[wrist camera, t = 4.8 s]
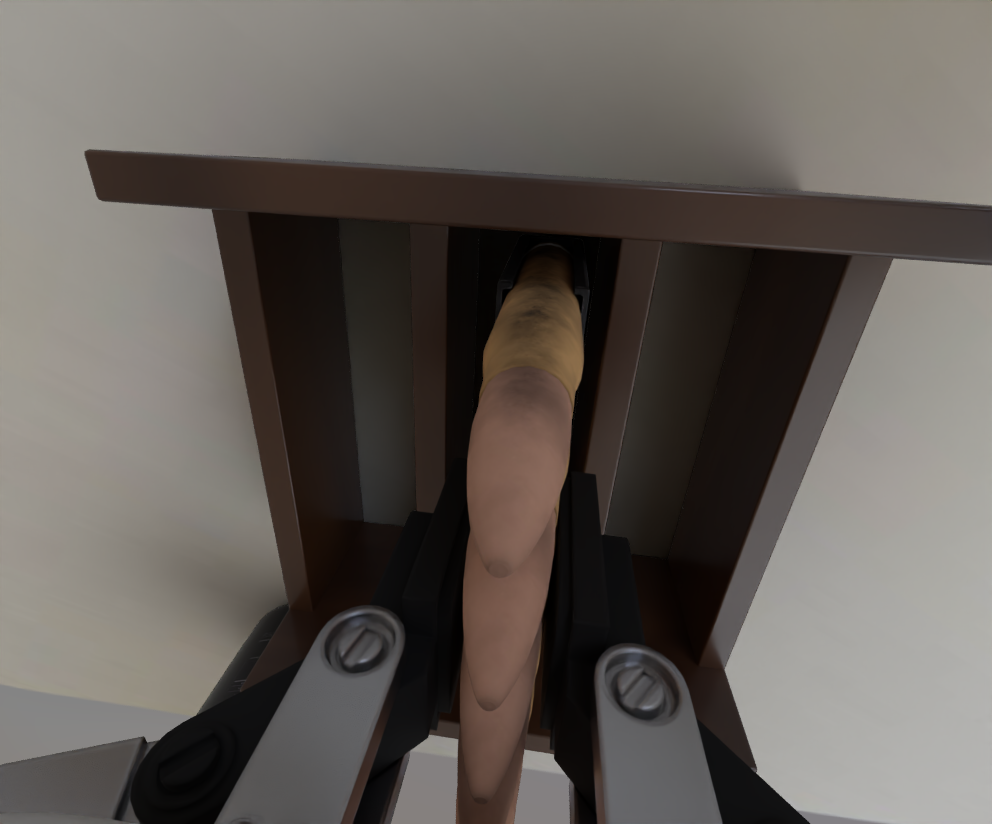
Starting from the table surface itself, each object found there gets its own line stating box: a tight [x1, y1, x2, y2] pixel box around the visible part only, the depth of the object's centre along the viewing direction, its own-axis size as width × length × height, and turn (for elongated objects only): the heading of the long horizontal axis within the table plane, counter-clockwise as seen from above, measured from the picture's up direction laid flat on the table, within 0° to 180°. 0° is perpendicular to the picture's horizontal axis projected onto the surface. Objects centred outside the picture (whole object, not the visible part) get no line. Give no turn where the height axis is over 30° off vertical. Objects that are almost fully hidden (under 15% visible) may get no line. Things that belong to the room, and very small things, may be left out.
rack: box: [85, 149, 992, 773], centre depth 14 cm, size 15×15×8 cm
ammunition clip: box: [456, 235, 590, 824], centre depth 11 cm, size 11×2×12 cm, turn 177°
